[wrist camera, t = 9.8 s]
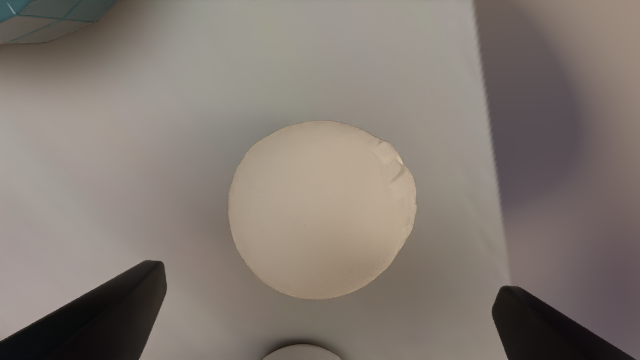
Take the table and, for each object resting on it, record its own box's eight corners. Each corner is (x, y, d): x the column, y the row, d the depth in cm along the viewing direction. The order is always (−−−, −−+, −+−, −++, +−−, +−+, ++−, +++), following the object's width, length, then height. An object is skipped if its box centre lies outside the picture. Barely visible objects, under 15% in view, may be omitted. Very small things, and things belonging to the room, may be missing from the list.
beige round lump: (404, 216, 17) (455, 317, 11) (271, 243, 17) (247, 354, 11) (385, 87, 14) (437, 122, 8) (229, 125, 15) (166, 185, 9)
